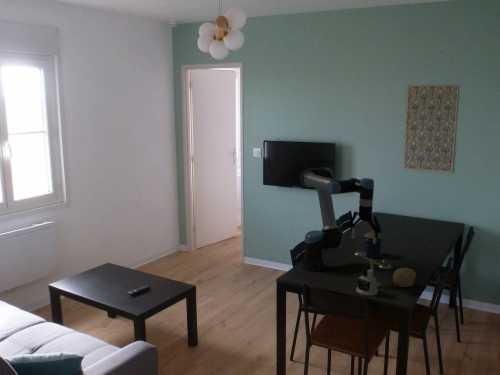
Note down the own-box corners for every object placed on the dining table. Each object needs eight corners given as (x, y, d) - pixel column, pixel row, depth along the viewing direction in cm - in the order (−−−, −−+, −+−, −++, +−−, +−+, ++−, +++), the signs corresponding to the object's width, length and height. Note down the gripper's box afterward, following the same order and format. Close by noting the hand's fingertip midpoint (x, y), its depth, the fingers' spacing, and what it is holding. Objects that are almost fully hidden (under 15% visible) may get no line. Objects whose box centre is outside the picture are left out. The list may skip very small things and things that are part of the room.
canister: (382, 258, 317) (383, 234, 313) (362, 258, 319) (363, 233, 315) (380, 252, 329) (381, 228, 326) (361, 251, 331) (362, 227, 328)
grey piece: (358, 289, 265) (358, 269, 262) (364, 285, 270) (365, 266, 268) (369, 293, 260) (370, 272, 258) (375, 289, 265) (376, 269, 263)
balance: (351, 282, 278) (352, 253, 275) (356, 278, 284) (357, 250, 280) (387, 291, 264) (388, 261, 261) (392, 287, 270) (393, 258, 266)
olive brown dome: (406, 291, 265) (407, 273, 263) (388, 284, 274) (389, 267, 272) (418, 286, 271) (419, 268, 269) (400, 279, 281) (401, 262, 279)
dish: (352, 292, 264) (352, 290, 264) (361, 285, 273) (362, 283, 273) (372, 297, 257) (372, 295, 257) (381, 290, 266) (381, 288, 266)
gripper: (343, 203, 273) (341, 237, 278) (383, 210, 257) (380, 247, 262) (349, 200, 278) (347, 234, 283) (389, 207, 263) (386, 243, 267)
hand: (363, 240), depth 273 cm, fingers open, 13 cm apart
